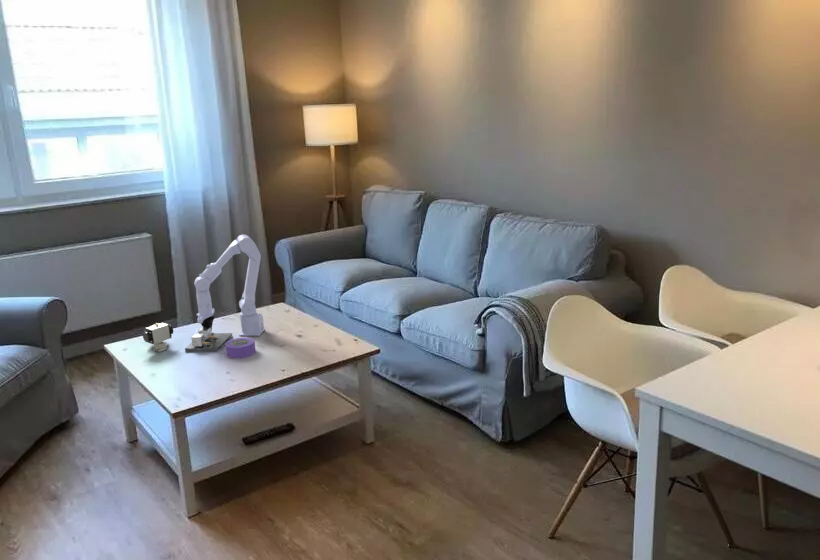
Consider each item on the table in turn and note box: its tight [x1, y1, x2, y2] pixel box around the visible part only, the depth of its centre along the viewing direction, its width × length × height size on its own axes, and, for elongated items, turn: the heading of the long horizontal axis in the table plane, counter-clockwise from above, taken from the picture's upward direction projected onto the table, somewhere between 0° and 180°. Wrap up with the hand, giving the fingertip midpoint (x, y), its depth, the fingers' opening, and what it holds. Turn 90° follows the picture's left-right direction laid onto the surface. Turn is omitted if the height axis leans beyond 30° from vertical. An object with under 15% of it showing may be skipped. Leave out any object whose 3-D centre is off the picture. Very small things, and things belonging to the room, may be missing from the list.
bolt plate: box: [184, 332, 233, 353], centre depth 299 cm, size 14×18×6 cm
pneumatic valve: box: [142, 322, 174, 353], centre depth 294 cm, size 6×12×12 cm, turn 140°
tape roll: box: [224, 337, 256, 359], centre depth 287 cm, size 12×12×5 cm
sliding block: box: [197, 326, 216, 339], centre depth 300 cm, size 6×4×4 cm, turn 84°
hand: (208, 333), depth 304 cm, fingers closed
